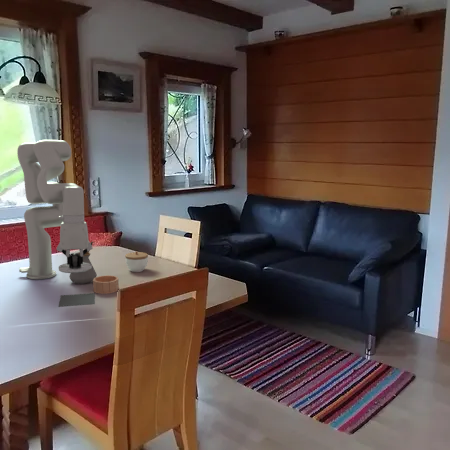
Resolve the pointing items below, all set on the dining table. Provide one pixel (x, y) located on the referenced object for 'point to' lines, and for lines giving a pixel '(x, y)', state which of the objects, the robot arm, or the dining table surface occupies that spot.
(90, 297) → the mat
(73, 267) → the lid
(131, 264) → the lidded jar
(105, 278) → the bowl
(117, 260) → the dining table surface
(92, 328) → the dining table surface
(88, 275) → the coffee pot
